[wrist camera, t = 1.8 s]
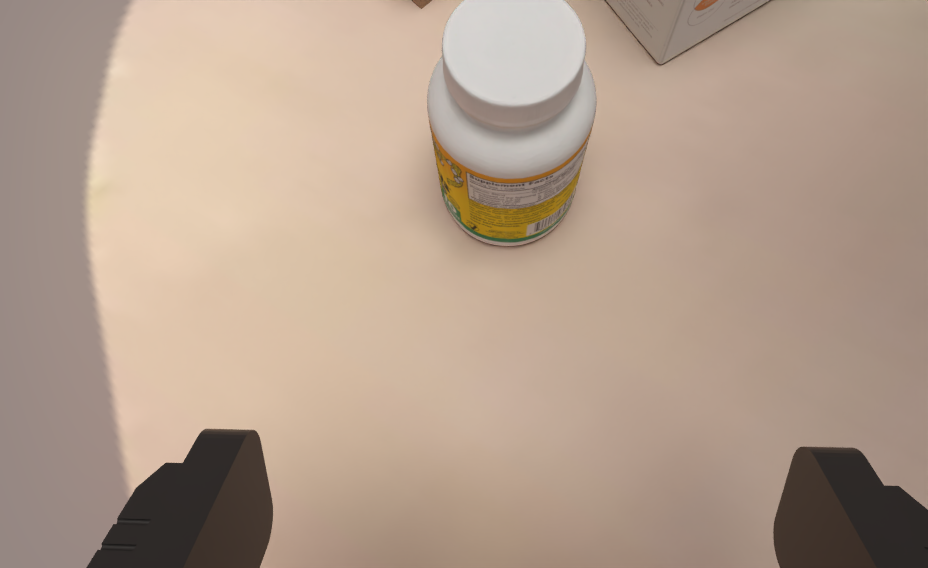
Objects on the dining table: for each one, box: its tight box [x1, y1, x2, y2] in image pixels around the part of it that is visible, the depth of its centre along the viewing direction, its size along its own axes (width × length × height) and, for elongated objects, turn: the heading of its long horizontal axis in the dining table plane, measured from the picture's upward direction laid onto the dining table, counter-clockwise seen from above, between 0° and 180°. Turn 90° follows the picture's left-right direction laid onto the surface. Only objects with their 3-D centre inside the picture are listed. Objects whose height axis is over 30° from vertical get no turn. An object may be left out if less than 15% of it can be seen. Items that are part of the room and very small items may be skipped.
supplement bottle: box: [427, 0, 596, 246], centre depth 24 cm, size 5×5×10 cm
